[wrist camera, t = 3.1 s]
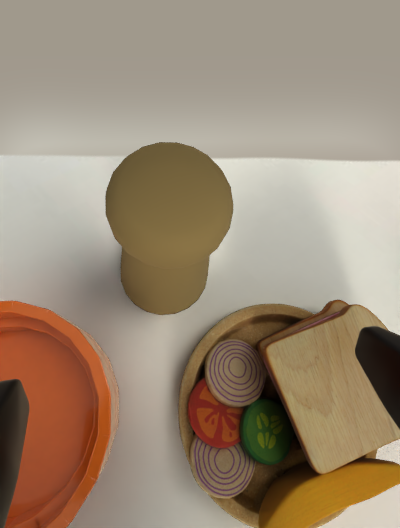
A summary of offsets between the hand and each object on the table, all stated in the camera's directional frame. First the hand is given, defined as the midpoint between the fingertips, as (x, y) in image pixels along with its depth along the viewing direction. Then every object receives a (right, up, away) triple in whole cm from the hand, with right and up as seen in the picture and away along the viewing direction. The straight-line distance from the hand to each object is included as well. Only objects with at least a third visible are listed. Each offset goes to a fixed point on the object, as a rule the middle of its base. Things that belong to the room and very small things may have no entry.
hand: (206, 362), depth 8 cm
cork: (-3, +2, +14) cm, 14 cm away
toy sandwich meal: (+5, -6, +12) cm, 14 cm away
